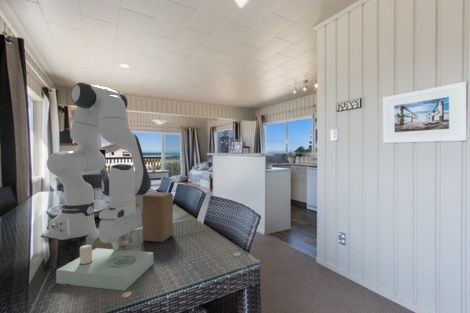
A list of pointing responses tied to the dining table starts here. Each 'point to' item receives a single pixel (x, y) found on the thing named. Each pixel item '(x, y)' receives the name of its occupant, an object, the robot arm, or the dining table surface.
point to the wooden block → (157, 216)
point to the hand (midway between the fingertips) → (123, 245)
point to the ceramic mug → (97, 241)
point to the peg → (123, 242)
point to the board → (105, 268)
